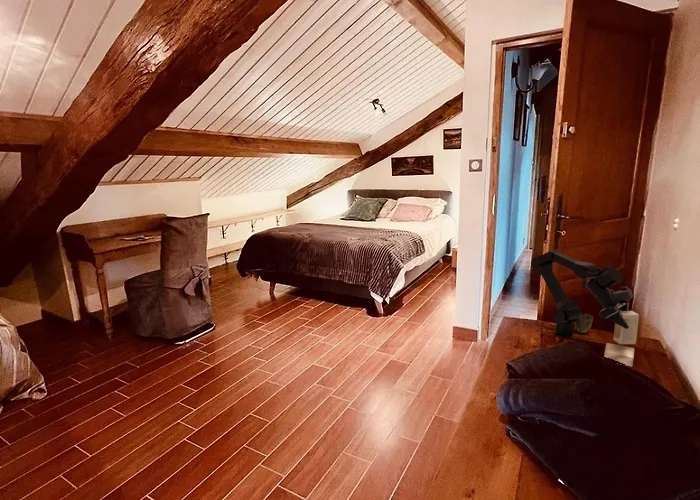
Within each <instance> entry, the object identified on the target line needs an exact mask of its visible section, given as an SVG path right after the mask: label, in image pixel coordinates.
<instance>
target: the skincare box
mask: <svg viewBox="0 0 700 500" xmlns="http://www.w3.org/2000/svg"><path fill="white" fill-rule="evenodd" d="M621 316H622V317H623V319H624V320H625V322H626V323H627V325H628V326H629V328H628V329H625V328H624V327H622V326H620V325H618V324H616V323H614V332H613V341H615V342H616V343H618V345H636V343H637V338H638V337H637V335H638V330H639V329H638V327H639V321H640V314H639V313H637V312H635V311H633V310H629V311H621Z"/></svg>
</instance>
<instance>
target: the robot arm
mask: <svg viewBox="0 0 700 500" xmlns="http://www.w3.org/2000/svg"><path fill="white" fill-rule="evenodd" d="M554 263H557V264H559V265H561V266H563V267H565V268H566V269H569V270H570V271H572V273H573V275H575V276H576V277H577V278H578V279H581V280H583V281H582V282H581V289H582V290H584V289H585V288H587V289H588V290H589V292H590V293H591V294H592V295H593V296H594V297H595V298H594V301H596V302H599V303H600V304H601V305H602V309H601V310H600V311H599V312H598V316H599V318H600V319H602V320H604V319H605V320H608V321H610V322H612V323H614V324H615V323H616V324H618V325H620V326H622V327H624V328H625V329H628V328H629V326H628V325H627V323H626V322H625V320H624V319H623V317H622V316H621V311H630V310H629V306H630V300H631V299H632V298H634V294H633V290H632V289H631V288H629V287H628V286H622V287H620V290H617V291H615V290H614V289H612V288H611V287H612V286H614V285H615V284H618V283H619V282H621V281H622V280H623V275H622V273H621V272H619V271H618V270H617V269H616V268H614V267H613V266H612V265H610V266H609V265H607V266H606V267H604V269H601V268H600V267H598V265H596V264H595V263H593V262H592V263H590V262H588V261H587V262H586V261H579V260H578V259H575V258H573V257H571V256H568V255H566V254H564V253H563V252H560V251H559V250H548V251H547V252H546V253H545V252H544V254H541V255H539V256H534V257H533V258H532V259H531V261H530V265H531V267H532V268H533V270H534V271H535V272H536V273H537V274H538V275H540V276H541V277H542V280H544V283H545V284H546V286H547V288H548V289H549V292H550V294H551V295H552V297H553V299H554V301H555V303H556V309H555V310H556V313H554V314H553V315H552V321H554V322H555V332H554V336H559V337H563V338H564V337H565V338H569V339H571V338H572V337H573V336H574V330H575V324H573V323H574V322H576V321H577V319H578V318H579V317H580V313H581V310H580V309H581V308H580V307H579V306H578V304H577V301H575V300H570V299H569V298H568V296H567V294H566V293H565V290H564V289H563V288H562V286H561V283H560V282H559V281H558V278H557V277H556V275H555V273H554V270H553V269H554ZM586 279H588V280H586ZM609 288H611V289H609Z"/></svg>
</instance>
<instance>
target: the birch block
mask: <svg viewBox="0 0 700 500" xmlns="http://www.w3.org/2000/svg"><path fill="white" fill-rule="evenodd" d="M634 354H635V348H634V347H629V346H625V345H620V344H614V343H611V342H610V343H608V342H606V345H605V349H604V356H603V358H604V357H606V358H610V359H613V360H615V361H618V362H620V363H623V364H625V365H624V366H627V367H631V368H633V363H634V358H635V357H634V356H635V355H634Z"/></svg>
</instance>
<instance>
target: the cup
mask: <svg viewBox="0 0 700 500" xmlns="http://www.w3.org/2000/svg"><path fill="white" fill-rule="evenodd" d="M593 320H594V316H592V315H591V314H590V313H589V314H587V313H585V314H582V312H580V317H579V318H578V319H577V321H576V322H573V323H574V327H575V328H577V332H578V333H580V334H586V333H587V332H588V330H590V329H591V328H592V324H593V322H594V321H593Z"/></svg>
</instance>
